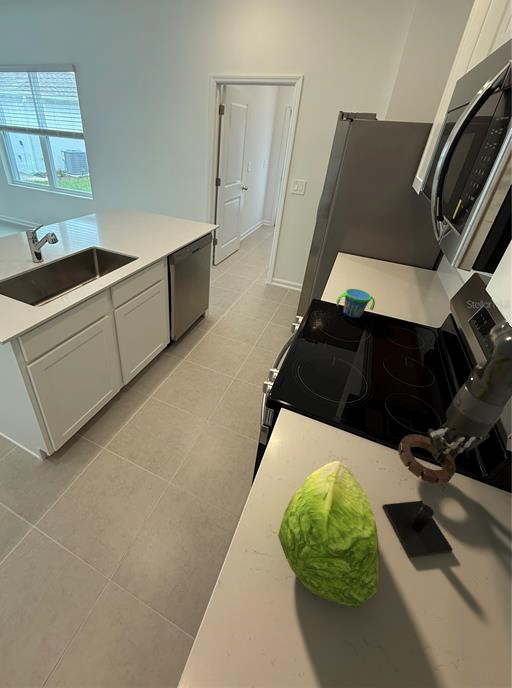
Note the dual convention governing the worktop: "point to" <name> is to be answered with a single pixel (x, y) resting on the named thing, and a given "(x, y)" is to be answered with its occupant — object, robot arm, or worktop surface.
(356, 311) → the snack cup
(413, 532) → the stand
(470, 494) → the worktop surface
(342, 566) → the lettuce
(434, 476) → the ring
